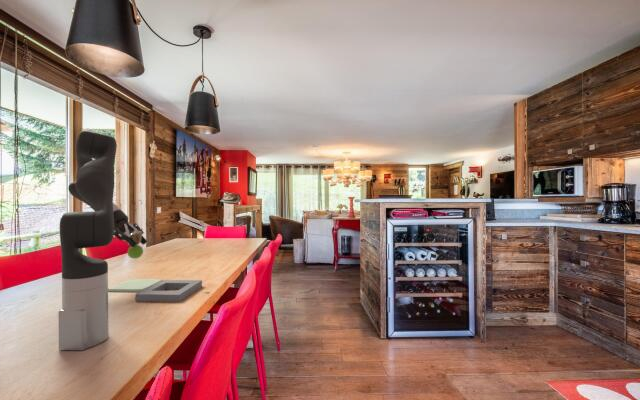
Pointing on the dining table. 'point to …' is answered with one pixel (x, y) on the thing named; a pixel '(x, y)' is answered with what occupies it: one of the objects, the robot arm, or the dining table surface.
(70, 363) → the dining table surface
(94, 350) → the dining table surface
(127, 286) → the green mat
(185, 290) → the gray square frame
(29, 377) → the dining table surface
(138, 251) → the snail figurine
